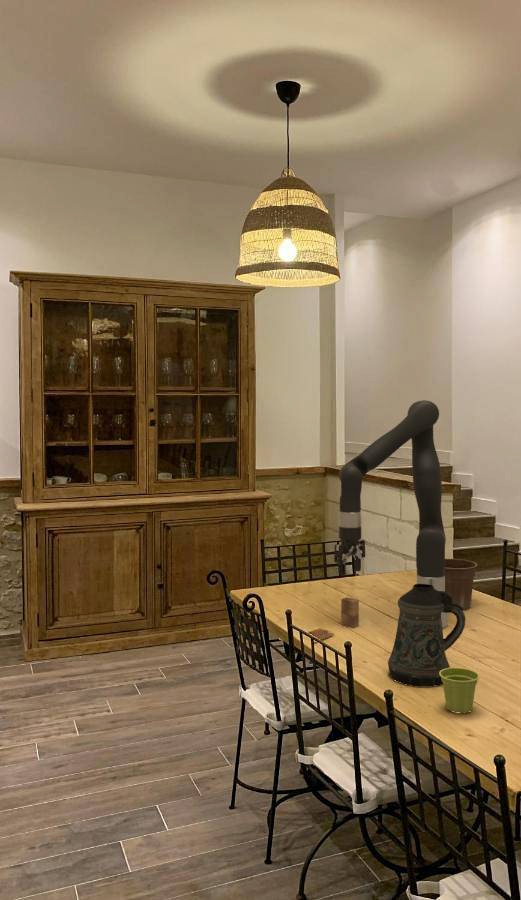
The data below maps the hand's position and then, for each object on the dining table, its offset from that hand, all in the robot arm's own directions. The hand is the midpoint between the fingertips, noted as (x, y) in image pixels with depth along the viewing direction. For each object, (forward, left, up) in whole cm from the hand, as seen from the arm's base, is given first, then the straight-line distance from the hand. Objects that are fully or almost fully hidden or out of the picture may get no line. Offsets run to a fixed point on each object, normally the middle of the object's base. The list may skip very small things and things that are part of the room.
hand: (350, 573), depth 246 cm
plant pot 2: (-60, +38, -18) cm, 73 cm away
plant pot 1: (-14, -45, -18) cm, 50 cm away
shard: (-1, +16, -19) cm, 25 cm away
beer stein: (-42, +24, -18) cm, 52 cm away
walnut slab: (0, 0, -18) cm, 18 cm away
